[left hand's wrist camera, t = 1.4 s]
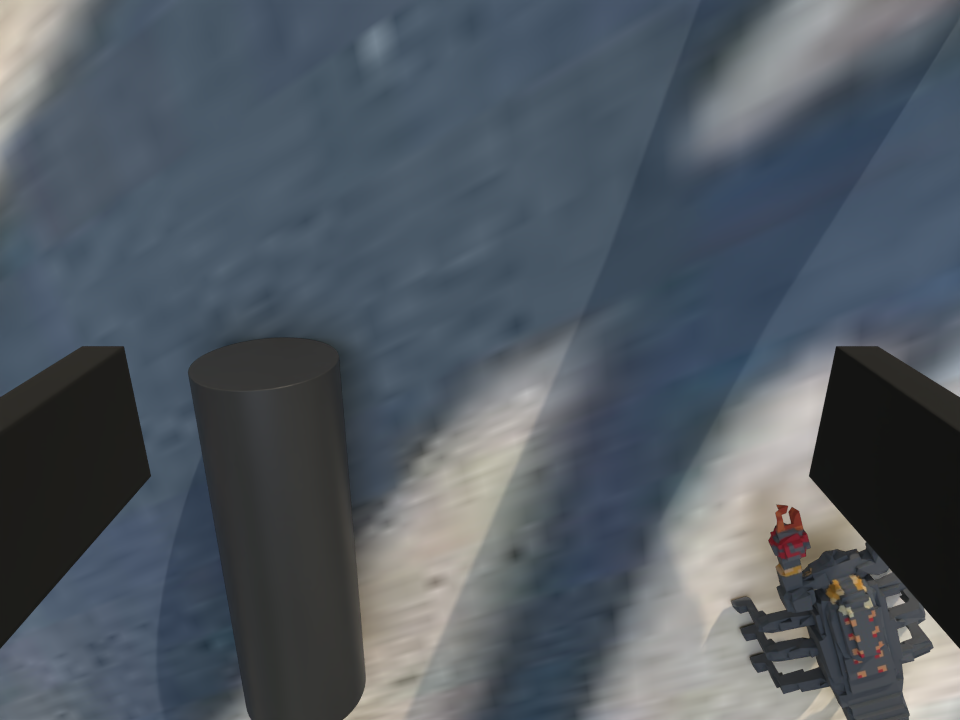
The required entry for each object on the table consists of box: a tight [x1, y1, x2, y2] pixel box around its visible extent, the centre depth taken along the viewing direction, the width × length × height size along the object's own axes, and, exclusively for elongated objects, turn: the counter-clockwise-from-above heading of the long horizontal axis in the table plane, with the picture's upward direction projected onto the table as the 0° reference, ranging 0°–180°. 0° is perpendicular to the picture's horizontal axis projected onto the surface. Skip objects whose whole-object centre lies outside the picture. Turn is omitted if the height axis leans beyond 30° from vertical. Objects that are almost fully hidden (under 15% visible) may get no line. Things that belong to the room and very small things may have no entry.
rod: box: [188, 338, 366, 720], centre depth 44 cm, size 26×9×9 cm, turn 0°
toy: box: [731, 505, 933, 720], centre depth 43 cm, size 13×27×18 cm, turn 22°
